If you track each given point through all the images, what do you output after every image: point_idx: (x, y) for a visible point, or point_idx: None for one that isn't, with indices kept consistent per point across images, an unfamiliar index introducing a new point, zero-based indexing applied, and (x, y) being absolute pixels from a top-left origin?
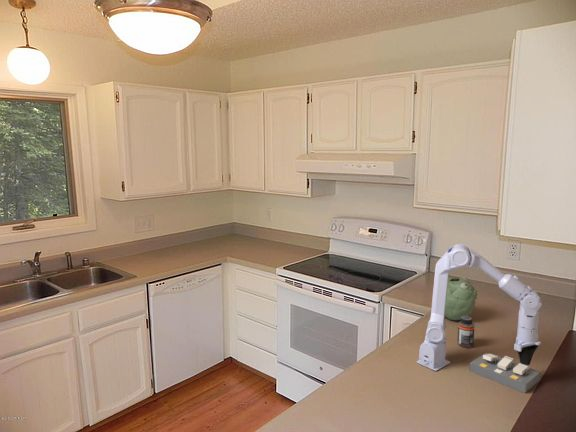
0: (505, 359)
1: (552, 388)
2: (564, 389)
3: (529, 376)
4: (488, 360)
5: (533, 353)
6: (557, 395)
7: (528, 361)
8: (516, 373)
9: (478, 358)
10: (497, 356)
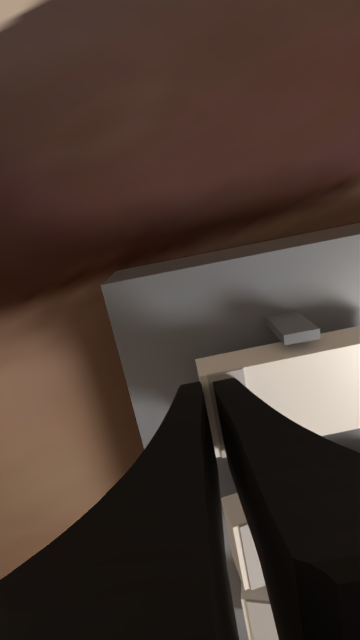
0: None
1: (146, 137)
2: (63, 65)
3: (295, 285)
4: None
5: (136, 474)
6: (225, 36)
7: (259, 400)
8: None
9: None
10: (264, 604)
